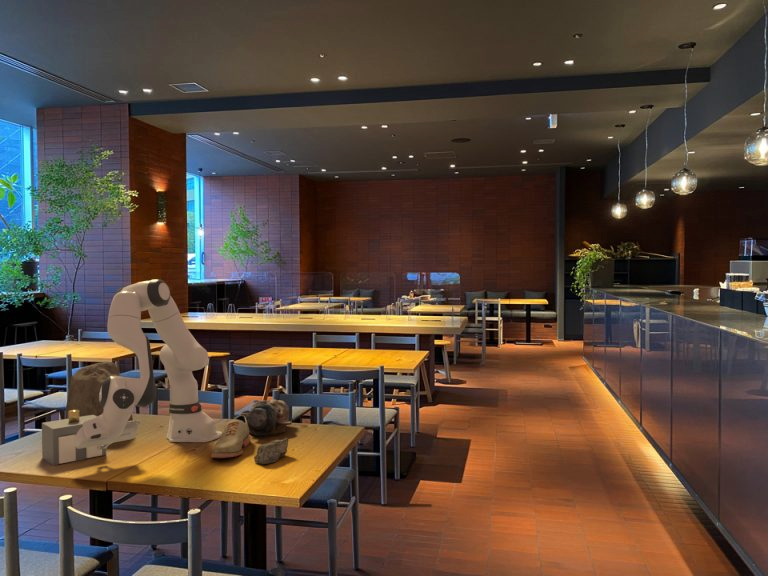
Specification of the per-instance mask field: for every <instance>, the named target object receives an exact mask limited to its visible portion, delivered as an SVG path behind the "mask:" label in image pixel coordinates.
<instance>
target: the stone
mask: <svg viewBox="0 0 768 576" xmlns="http://www.w3.org/2000/svg"><path fill="white" fill-rule="evenodd" d="M109 376H119V377H122V376H121V374H120V371H119V369H118V365H117V364H116V363H114V362H113V361H103V362H97V363H92V364H90V365H86V366H83V367H81V368H79V369H78V370H76V371H75V373H74V374H73V375H72V377H71V380H70V384H69V390H68V395H67V401H66V404H65V416H64V417H65V418H64V419H69V414H68V411H70V410H79V417H82V416H88V415H95V416H99V415H102V413H103V411H104V408H102V407H101V405H100V404H99V401H98V394H99V390H100V387H101V384H102V382H103V381H104V380H105V379H106V378H107V377H109ZM128 421H134V418H133V412H132V413H131V416H130V418H129V419H128Z"/></svg>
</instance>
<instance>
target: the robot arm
mask: <svg viewBox="0 0 768 576" xmlns="http://www.w3.org/2000/svg"><path fill="white" fill-rule="evenodd" d="M145 311H148V314H149V317H150V319H151V322H152V323H153V326H154V328H155V330H156V332H157V335H158V337H159V339H160V340H162V341H163V342H164V344H165V345H163V346H162V348H161V349H160V351H159V360H160V361H161V363H162V365H163V366H164V369H165V372H166V375H167V379H168V384H169V401H170V402H169V403H168V412H169V423H168V429H167V430H168V431H167V434H166V436H165V438H166V439H167V440H168V441H169V443H171V442H172V443H209V442H211V441H214V440H217V439H220V437H221V435H222V433H223V431H220V430H217V426H216V425H217V424H216V422H215V420H214V419H213V418H212V417H210V416H209V414H207V413H205V412H204V411H203V408H202V407H204V403H200V401H199V395H198V394H199V389H198V388H199V384H198V381H197V379H196V378H195V377H194V374H193V372H194V371H198V370H202V369H204V368H205V367H206V365H207V364H208V361H209V354H208V351H207V349H205V348H204V346H202V345H201V344H200V343H199V342H198V341H197V340H196V339H195V337H194V335H193V334H192V333H191V331H190V330H189V329H188V327H187V325H186V323H185V321H184V319H183V317H182V314H181V313H180V310H179V308H178V306H177V304H176V302H175V300H174V299H173V297H172V296H171V289H170V287H169V285H168V284H167V282H166V281H164V280H162V279H157V278H156V279H151V280H144V281H137V282H136V283H133V284H129V285H126V286H122V287H120V288H118V289H117V290H116V291H115V293H114V296H113V298H112V301H111V303H110V307H109V311H108V317H107V325H106V326H107V328H106V329H107V335H108V337H109V338H110V339H111V340H112V341H113V342H115V343H116V344H117V345H119V346H120V347H123V348H125V349H127V350H130V352H132V353H134V354H135V355H136V357H137V359H138V367H139V369H138V370H139V377H127V376H121V377H119V376H109V377H107V378H106V379H105V380H104V381H103V382H102V384H101V387H100V390H99V394H98V401H99V404H100V405H101V407H102V408H104V411H103V413H102V415H99V416H97V417H95V418H93V419H90V420H87V421H84V422H83V427H82V428H80V429H79V431H78V432H77V434H76V436H75V439H74V443H75V446H76V448H78V449H81V448H86V447H91V446H97V449H98V450H100V449H105V448H106V449H107V448H108V446H110V445H111V444H114V443H117V442H118V443H119V442H123V441H124V442H125V441H128V440H133V439H134V438H136V436H137V432H138V428H139V427H140V425H141V423H140V421H139V420H134V419H133V421H128V419H129V418H130V416H131V413H132V414H133V410H134V407H140V408H147V407H148V406H150V405H151V404H153V402H155V400H156V399H157V398H156V397H157V385H156V380H155V376H154V368H153V357H152V356H153V355H152V348H151V343H150V340H149V336H147V335H146V334H145V333H144V331H143V329H142V326H141V323H142V322H141V318H142V317H141V316H142V312H145Z"/></svg>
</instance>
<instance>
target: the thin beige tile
mask: <svg viewBox="0 0 768 576" xmlns="http://www.w3.org/2000/svg"><path fill="white" fill-rule="evenodd" d="M74 439H75V434H73V435H72V434H70V435H64V436H59V437H58V465H59V464H60V465H61V464H65V463H70V462H77V461H76V446H75V443H74Z"/></svg>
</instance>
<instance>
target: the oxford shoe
mask: <svg viewBox="0 0 768 576" xmlns="http://www.w3.org/2000/svg"><path fill="white" fill-rule="evenodd" d="M250 442H251V438H250V433H249V427H248V423H247V420H246V417H245V416H244V415H241V414H240V415H237V416H236V418H234V419H232V420H229V421H228V422H227V423H226V425H225V427H224V429H223V430H222V435H221V436H220V437H219V438H218V440H217V442H216V443H215V444H214V446H213V448H212V452H211V455H210V456H211V458H213V459H228V458H234V457H239V456H241V455H242V454H243V453H244V451H243V448H246V447H247V446H248V445H249V444H250Z"/></svg>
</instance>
